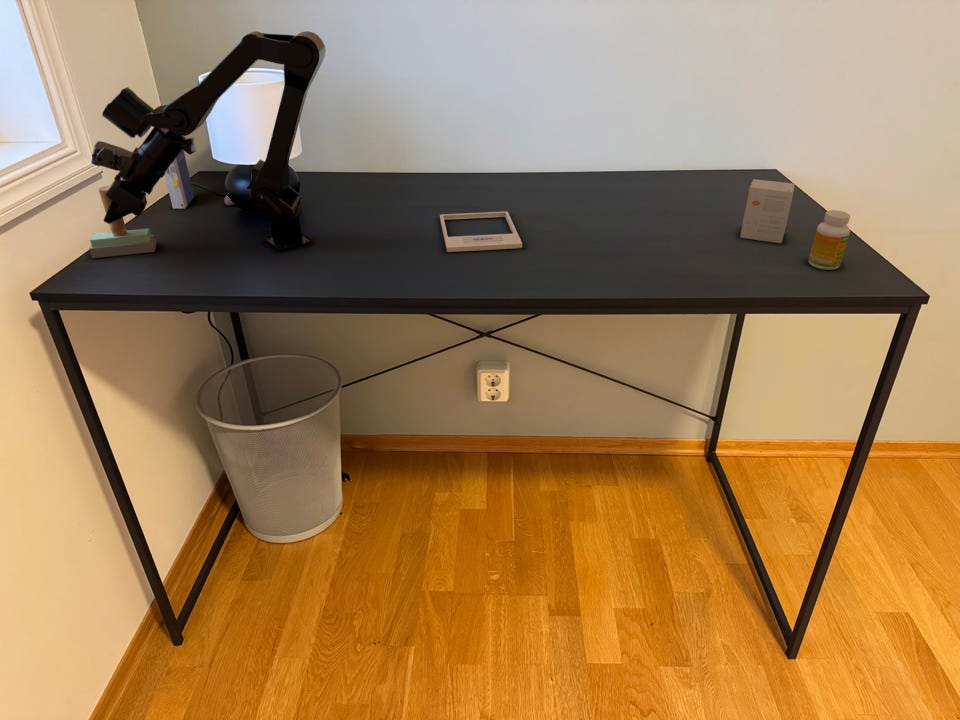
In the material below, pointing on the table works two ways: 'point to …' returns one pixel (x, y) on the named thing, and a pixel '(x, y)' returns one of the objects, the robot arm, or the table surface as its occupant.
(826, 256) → the supplement bottle
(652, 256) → the table surface
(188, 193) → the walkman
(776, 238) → the small box
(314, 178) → the table surface
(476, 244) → the photo frame
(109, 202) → the wiper
